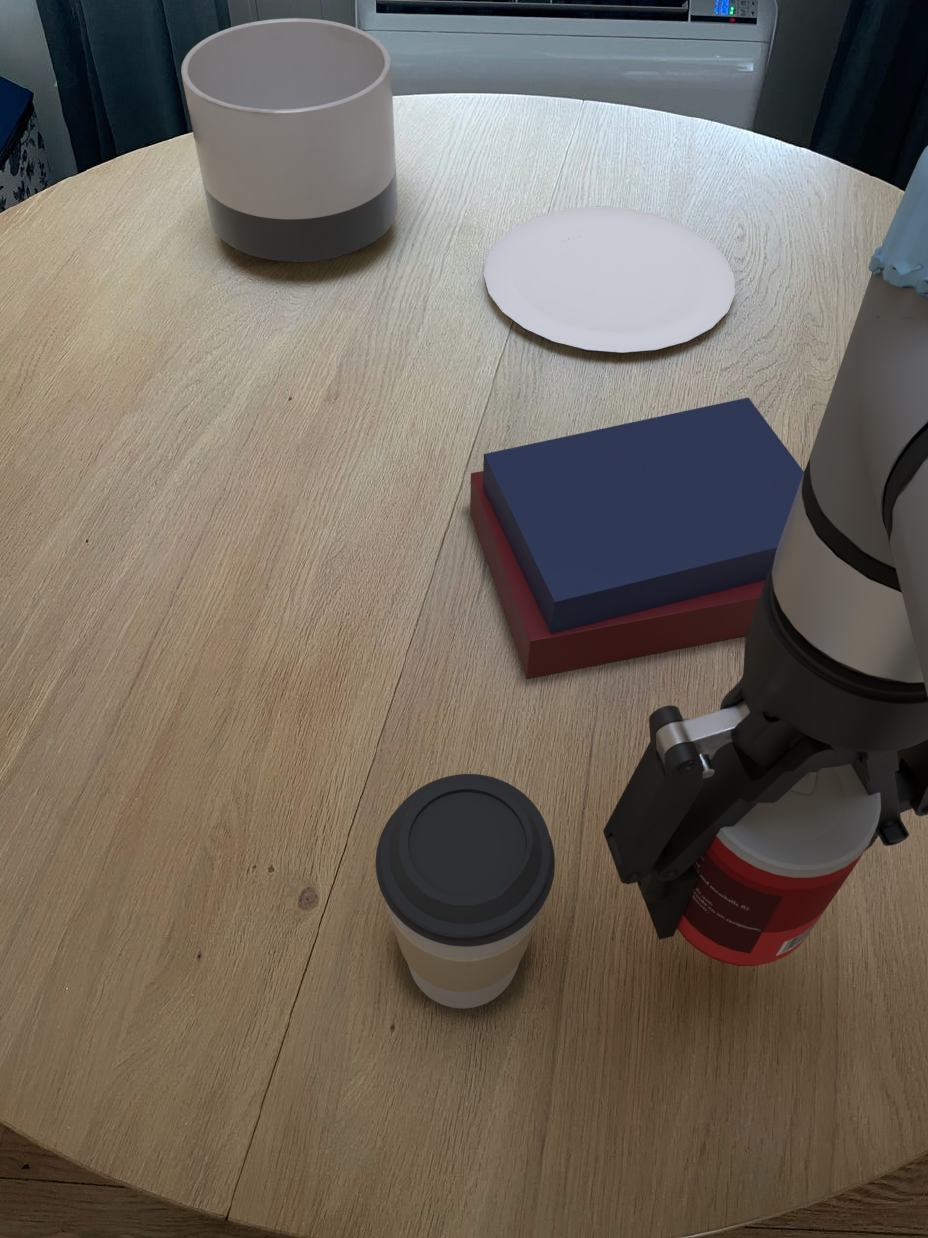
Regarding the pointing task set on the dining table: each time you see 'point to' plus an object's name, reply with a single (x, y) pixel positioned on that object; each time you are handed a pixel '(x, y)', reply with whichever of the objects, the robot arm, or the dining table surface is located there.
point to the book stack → (634, 534)
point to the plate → (609, 280)
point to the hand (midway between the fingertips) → (736, 893)
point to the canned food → (779, 869)
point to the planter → (294, 136)
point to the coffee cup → (465, 884)
